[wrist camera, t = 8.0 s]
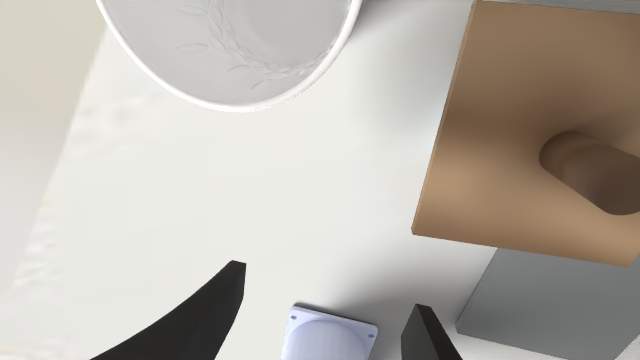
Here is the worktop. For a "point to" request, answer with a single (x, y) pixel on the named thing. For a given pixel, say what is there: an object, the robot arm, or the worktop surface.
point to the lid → (540, 135)
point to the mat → (555, 305)
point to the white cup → (233, 46)
